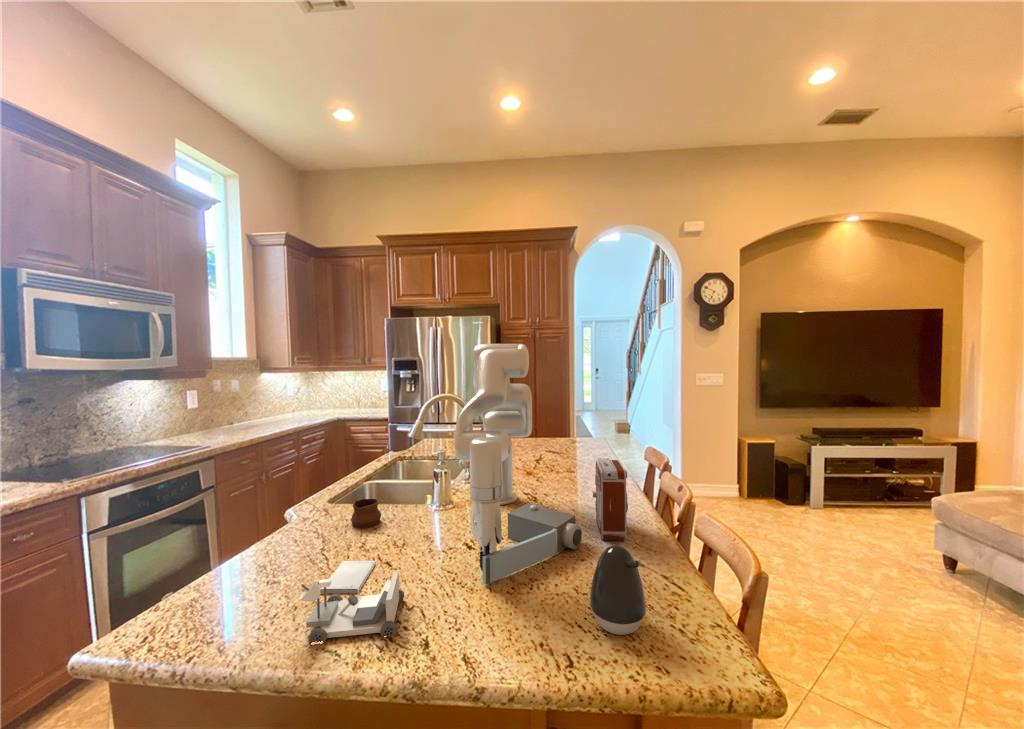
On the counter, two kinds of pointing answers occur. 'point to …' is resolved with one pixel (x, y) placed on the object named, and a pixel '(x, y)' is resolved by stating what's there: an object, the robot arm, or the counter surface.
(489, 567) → the side door
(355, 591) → the hard drive
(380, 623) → the toy car
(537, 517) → the block
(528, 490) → the counter surface
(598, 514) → the cine camera
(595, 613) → the dark grey egg-shaped piece
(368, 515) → the ceramic pot
